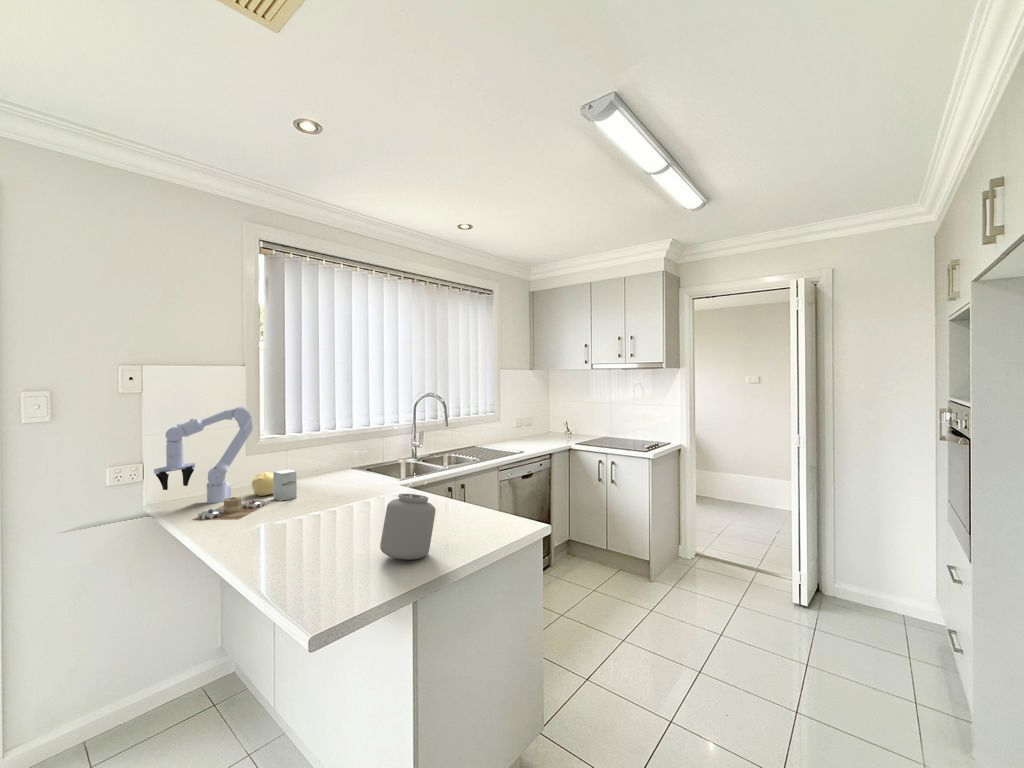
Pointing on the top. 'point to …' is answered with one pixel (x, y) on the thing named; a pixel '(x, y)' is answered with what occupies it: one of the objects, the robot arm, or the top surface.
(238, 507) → the octagonal wooden tube
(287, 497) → the supplement box
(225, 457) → the robot arm
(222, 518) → the gear board
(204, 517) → the gear
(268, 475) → the sculpture
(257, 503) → the gear
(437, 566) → the top surface
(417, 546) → the jar
